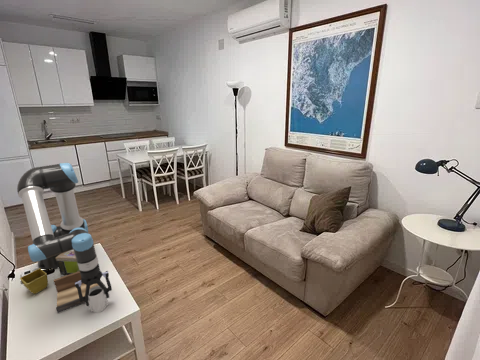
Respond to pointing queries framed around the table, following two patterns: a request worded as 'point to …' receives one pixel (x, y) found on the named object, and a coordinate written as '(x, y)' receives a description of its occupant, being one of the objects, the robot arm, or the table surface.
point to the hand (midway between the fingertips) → (99, 306)
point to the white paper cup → (97, 299)
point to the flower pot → (35, 281)
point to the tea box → (67, 263)
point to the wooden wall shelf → (69, 291)
